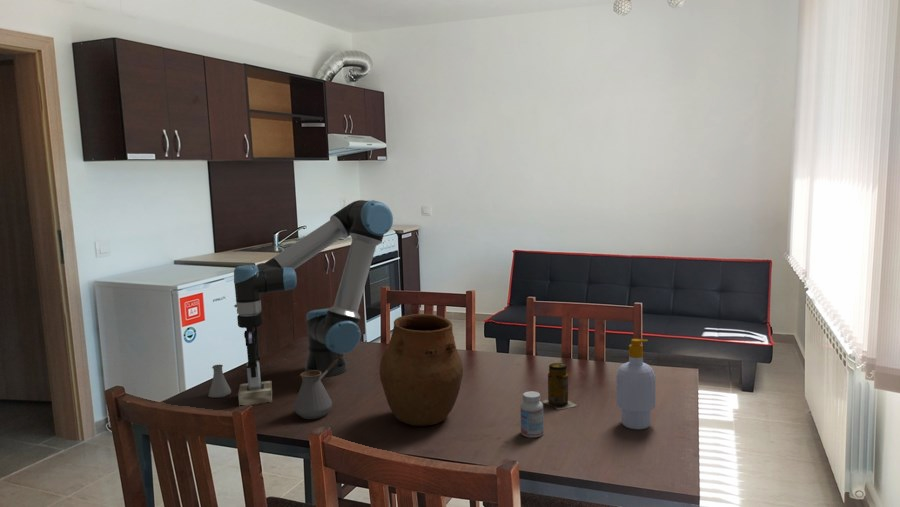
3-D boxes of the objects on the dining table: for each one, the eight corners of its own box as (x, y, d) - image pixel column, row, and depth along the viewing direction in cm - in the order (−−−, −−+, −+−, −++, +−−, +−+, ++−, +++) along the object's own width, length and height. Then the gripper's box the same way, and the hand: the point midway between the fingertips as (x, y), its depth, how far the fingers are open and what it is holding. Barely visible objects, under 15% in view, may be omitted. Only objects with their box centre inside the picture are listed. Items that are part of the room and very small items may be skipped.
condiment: (561, 397, 202) (560, 360, 200) (577, 406, 195) (577, 367, 193) (541, 401, 199) (540, 364, 197) (557, 410, 191) (557, 371, 190)
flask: (224, 398, 213) (221, 369, 211) (204, 398, 214) (201, 368, 213) (235, 391, 220) (233, 362, 218) (216, 390, 221) (213, 362, 220)
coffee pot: (314, 424, 188) (311, 374, 186) (286, 417, 194) (282, 369, 192) (361, 400, 206) (358, 354, 204) (333, 395, 212) (330, 350, 210)
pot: (434, 443, 172) (430, 333, 168) (364, 427, 185) (358, 324, 181) (479, 412, 192) (476, 313, 188) (413, 399, 205) (408, 307, 201)
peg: (262, 396, 214) (259, 360, 212) (262, 399, 210) (258, 363, 209) (249, 397, 213) (246, 362, 212) (249, 401, 209) (245, 365, 208)
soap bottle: (658, 433, 173) (658, 345, 170) (618, 431, 175) (617, 344, 171) (652, 418, 183) (653, 335, 180) (615, 417, 185) (615, 334, 181)
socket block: (272, 392, 217) (271, 380, 217) (271, 402, 208) (270, 390, 207) (241, 395, 215) (240, 384, 214) (239, 406, 205) (238, 394, 205)
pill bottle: (519, 430, 178) (518, 390, 177) (540, 428, 179) (540, 389, 177) (523, 439, 172) (522, 398, 171) (546, 437, 173) (545, 397, 171)
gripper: (238, 309, 215) (244, 376, 218) (235, 320, 198) (241, 394, 201) (262, 306, 217) (267, 373, 220) (260, 318, 200) (266, 391, 203)
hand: (255, 383), depth 211 cm, fingers open, 5 cm apart
